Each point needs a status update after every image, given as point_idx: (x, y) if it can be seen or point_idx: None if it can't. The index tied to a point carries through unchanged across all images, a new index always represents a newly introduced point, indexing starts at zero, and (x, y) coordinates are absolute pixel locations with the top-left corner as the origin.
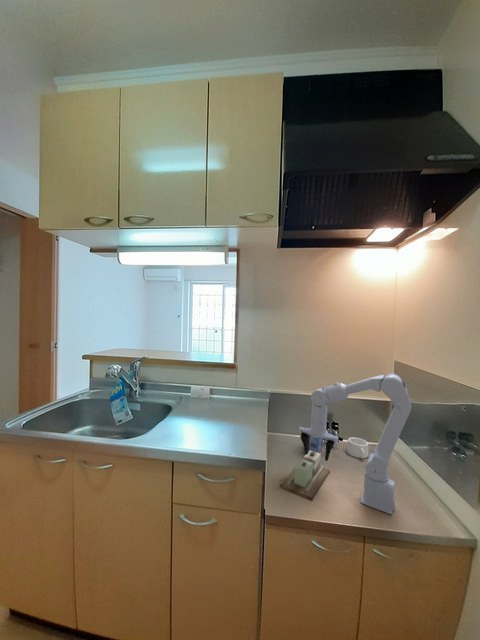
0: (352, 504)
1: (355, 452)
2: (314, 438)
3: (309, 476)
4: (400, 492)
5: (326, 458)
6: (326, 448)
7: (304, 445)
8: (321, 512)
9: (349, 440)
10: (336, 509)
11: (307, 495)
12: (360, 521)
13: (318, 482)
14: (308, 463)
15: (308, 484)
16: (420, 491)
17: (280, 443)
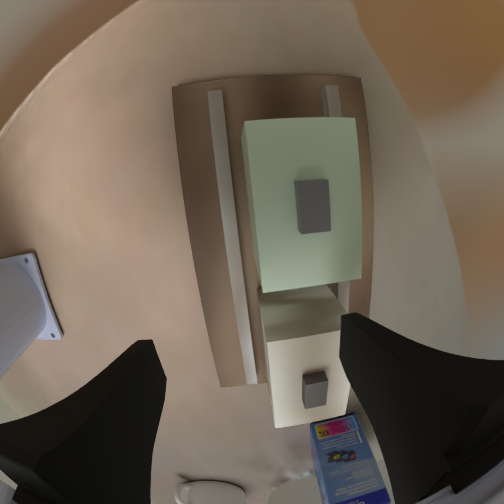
0: (46, 219)
1: (204, 493)
2: (348, 481)
3: (249, 203)
4: (30, 390)
5: (130, 349)
6: (78, 419)
7: (412, 348)
8: (114, 59)
9: None
10: (73, 129)
11: (200, 83)
12: (8, 146)
13: (208, 245)
14: (290, 258)
15: (242, 180)
16: (24, 413)
17: None
